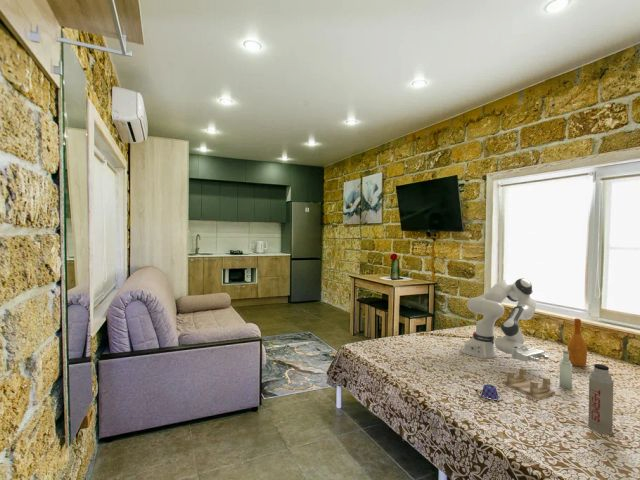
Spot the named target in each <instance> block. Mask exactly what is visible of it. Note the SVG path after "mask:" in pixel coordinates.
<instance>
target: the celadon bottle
mask: <svg viewBox="0 0 640 480" xmlns="http://www.w3.org/2000/svg"><path fill="white" fill-rule="evenodd" d="M559 386H560V387H561V388H563V389H567V390H568V389H569V390H570V389H572V388H573V365H572V364H571V361H569V351H568V349H563V350H562V359H561V360H560V361H559Z"/></svg>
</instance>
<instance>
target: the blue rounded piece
mask: <svg viewBox="0 0 640 480" xmlns="http://www.w3.org/2000/svg"><path fill="white" fill-rule="evenodd" d="M481 389H482V395H484V396H485V397H488V398H491V401H494V399H496V400H497V399H499V398H498V395H499V396H500V397H501V399H500V400H497V401H501V400H503V399H504V397H503V395H502V394H501V393H499V392H498V391H497V387H496V386H495V385H493V384H489V383H487V384H484V385H483V387H482V388H481ZM484 396H483V397H484ZM485 397H484V398H485ZM488 398H487V399H488ZM494 402H495V401H494Z"/></svg>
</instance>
